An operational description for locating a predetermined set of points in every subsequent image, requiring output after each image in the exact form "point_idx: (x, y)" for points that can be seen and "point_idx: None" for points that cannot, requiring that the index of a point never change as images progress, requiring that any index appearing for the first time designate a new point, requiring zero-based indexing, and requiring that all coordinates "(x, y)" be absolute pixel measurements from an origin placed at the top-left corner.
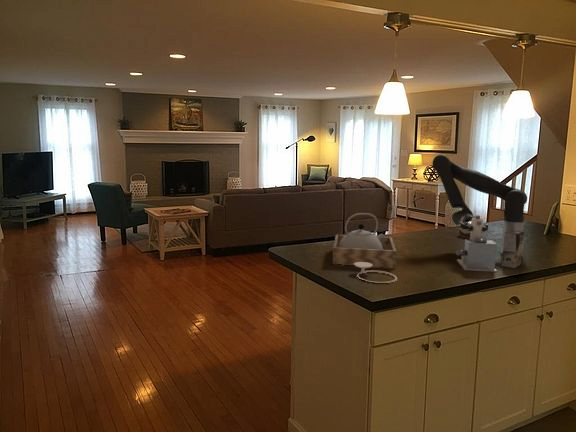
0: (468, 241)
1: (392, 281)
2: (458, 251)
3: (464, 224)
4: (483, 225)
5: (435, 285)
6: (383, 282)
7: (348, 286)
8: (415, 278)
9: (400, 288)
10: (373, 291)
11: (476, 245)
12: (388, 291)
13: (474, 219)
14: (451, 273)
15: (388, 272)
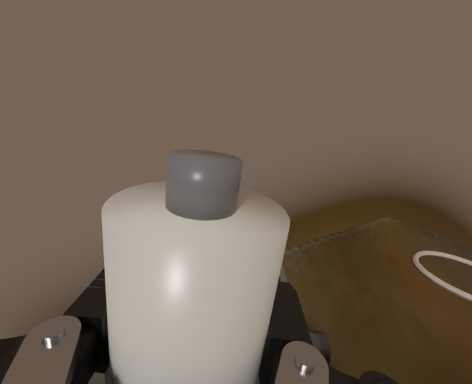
0: (281, 278)
1: (414, 255)
2: (317, 331)
3: (381, 374)
4: (71, 317)
5: (334, 248)
6: (424, 251)
7: (461, 247)
8: (389, 277)
9: (383, 240)
10: (411, 234)
11: None
12: (392, 233)
13: (258, 197)
14: (314, 316)
15: (469, 294)
